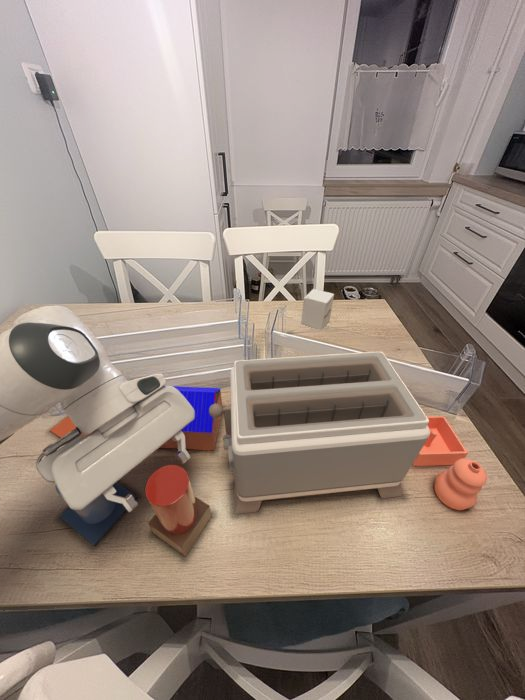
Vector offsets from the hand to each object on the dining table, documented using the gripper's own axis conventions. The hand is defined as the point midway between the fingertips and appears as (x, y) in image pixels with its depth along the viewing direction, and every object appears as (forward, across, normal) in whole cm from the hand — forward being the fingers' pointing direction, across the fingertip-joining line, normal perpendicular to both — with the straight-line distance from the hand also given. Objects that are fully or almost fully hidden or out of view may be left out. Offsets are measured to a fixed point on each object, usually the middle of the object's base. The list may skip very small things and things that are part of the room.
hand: (161, 482), depth 44 cm
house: (-2, +12, +19) cm, 23 cm away
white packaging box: (0, +65, +16) cm, 67 cm away
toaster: (+16, +24, 0) cm, 28 cm away
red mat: (-14, -1, +31) cm, 34 cm away
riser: (+10, 0, +7) cm, 12 cm away
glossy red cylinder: (+7, 0, +4) cm, 8 cm away
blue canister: (0, -8, +16) cm, 18 cm away
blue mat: (0, -8, +16) cm, 18 cm away
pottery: (+32, +40, -15) cm, 53 cm away
